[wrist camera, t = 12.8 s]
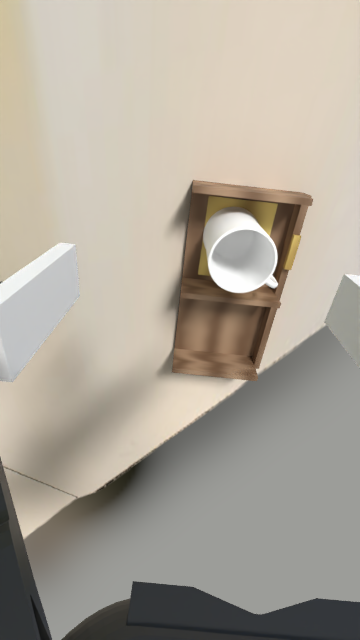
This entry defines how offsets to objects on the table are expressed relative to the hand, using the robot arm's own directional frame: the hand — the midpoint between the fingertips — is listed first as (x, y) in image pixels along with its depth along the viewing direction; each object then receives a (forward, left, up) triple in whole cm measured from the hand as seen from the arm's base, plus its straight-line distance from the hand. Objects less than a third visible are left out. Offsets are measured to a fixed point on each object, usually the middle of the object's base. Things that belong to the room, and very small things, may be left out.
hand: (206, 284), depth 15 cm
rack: (+7, -13, -33) cm, 36 cm away
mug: (+7, -6, -32) cm, 33 cm away
